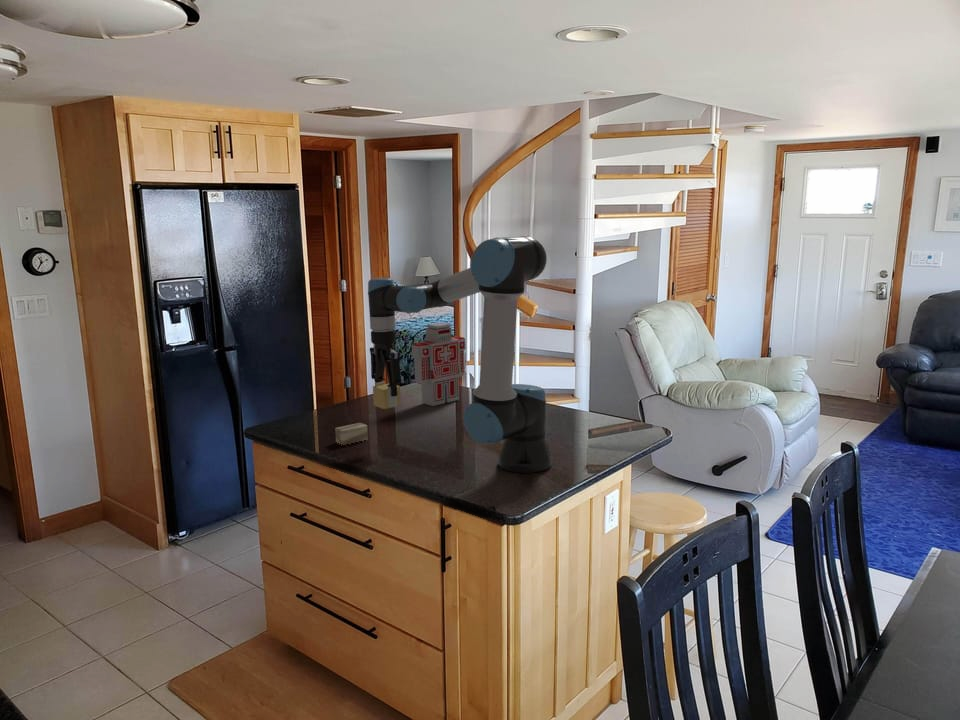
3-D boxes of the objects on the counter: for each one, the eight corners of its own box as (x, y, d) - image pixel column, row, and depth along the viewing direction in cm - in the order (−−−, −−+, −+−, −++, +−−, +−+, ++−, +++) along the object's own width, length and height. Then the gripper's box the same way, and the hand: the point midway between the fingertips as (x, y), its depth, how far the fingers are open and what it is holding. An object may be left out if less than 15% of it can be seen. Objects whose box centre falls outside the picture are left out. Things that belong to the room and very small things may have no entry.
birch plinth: (368, 440, 231) (367, 425, 230) (342, 446, 226) (341, 431, 225) (361, 437, 234) (360, 422, 233) (336, 443, 229) (335, 428, 228)
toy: (423, 409, 265) (420, 329, 259) (411, 405, 271) (408, 326, 265) (469, 398, 280) (468, 322, 274) (457, 395, 285) (455, 320, 279)
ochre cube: (400, 405, 221) (400, 386, 220) (384, 409, 217) (383, 389, 216) (390, 402, 226) (389, 383, 224) (373, 405, 222) (372, 386, 221)
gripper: (411, 331, 212) (414, 407, 216) (377, 325, 227) (381, 396, 231) (389, 334, 207) (393, 412, 212) (356, 328, 222) (361, 401, 226)
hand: (387, 404), depth 221 cm, fingers closed on ochre cube, 6 cm apart
